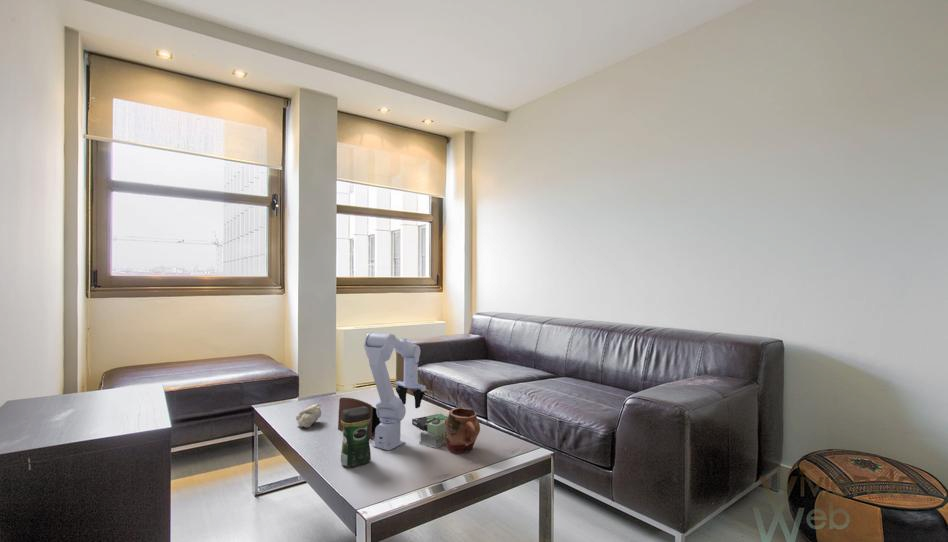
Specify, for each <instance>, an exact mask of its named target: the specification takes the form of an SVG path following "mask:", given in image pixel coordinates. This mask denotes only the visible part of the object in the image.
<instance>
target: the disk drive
mask: <svg viewBox="0 0 948 542" xmlns="http://www.w3.org/2000/svg"><path fill="white" fill-rule="evenodd" d="M447 417H448V415H444V414H443V413H435V414H431V415H426V416H422V417H416V418H412V420H411V425H412V424H413V425H412V426H415V427H416V428H418V429H419V430H421V431H422V432H427V429H428V423H431V422H433V421H435V420H437V419H438V418H439V419H441V420H446V418H447Z"/></svg>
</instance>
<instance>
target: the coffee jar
mask: <svg viewBox="0 0 948 542" xmlns="http://www.w3.org/2000/svg"><path fill="white" fill-rule="evenodd" d="M370 420H371V418H370V411H369V409H368V408H367V407H365V406H362V407H357V408H352V409H346V410H343V411H342V417H341V423H342V426H343V431H342V441H341V442H342V443H341V450H340V453H341V455H340V464H341V465H342V466H343V467H346V468H355V467H358V466H362V465H366V464H368V463H370V462H371V460H372V459H371V458H372V456H371V455H372V453H371V446H370V445H371V444H370V439H369V423H370Z"/></svg>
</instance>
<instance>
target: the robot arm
mask: <svg viewBox="0 0 948 542" xmlns="http://www.w3.org/2000/svg"><path fill="white" fill-rule="evenodd" d="M363 347H364V351H365V355H366V357H367V359H368V364H369V367H370V371H371V374H372V377H373V380H374V381H373V382H374V383H375V387H376V390H377V392H378V396H379V398H378V400H377V401H376V403H375V408H376V409H377V410H376V413H377V416H378V418H380V421H381V423H380V424H379V425H378V426H377V427H376V429H375V438H374V444H373V445H372V447H375V448H378V449H383V450H386V451H391V450H393V449H395V448H397V447H399V446H401V445H402V444H405V443H406V441H405V440H403V439H401V421H402V420H403V419H404V418H405V416H406V412H407V411H406V410H407V409H406V404H407V403H406V402H407V394H408V389H410V390H415V391H413V392H412V393H413V396H414V408H415V409H419V408H420V407H421V404H422V400H423V398H424V395H425V394H426V392H427V386H426V385H423V384H421V383H419V382H418V380H419V379H418V378H419V377H418V374H419V373H418V372H419V370H418V369H419V367H418V366H419V365H418V364H419V362H420V356H421V347H420V346H419V345H418V344H413V343H412V341H408V340H407V338H400V339H399V338H397V337H396V335H395V334H393V333H373V332H369V333H367V334H366V335H365V339H364V342H363ZM393 351H395V352H396V353H397V354H399V355H401V357H402V358H403V381H400V380H399V381H398V380H397V381H396V382H395V387H396V388H395V392H396V393H397V396H396V395H395V392H394V388H393V385H392V382H391V379H390V375H389V371H388V368H387V364H386V362H387V361H389V360H390V359H391V357H392V354H393Z"/></svg>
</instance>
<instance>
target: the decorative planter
mask: <svg viewBox="0 0 948 542" xmlns="http://www.w3.org/2000/svg"><path fill="white" fill-rule="evenodd" d="M477 417H478V415H477V413H476V410H474V409H471V408H463V407H454V408H452V409H450V410H449V412H448V415H447V418H446V420H445V426H446V431H447V439H446V443H445V444H446V448H447V450H448V451H450V452H451V453H453V454H464V453H469V452H471V451H472V450H473V449H474V445H475V443H476V440H477V438H478V437H479V434H480V433H481V432H480V431H481V426H480V422H479V420H478V418H477Z"/></svg>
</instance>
